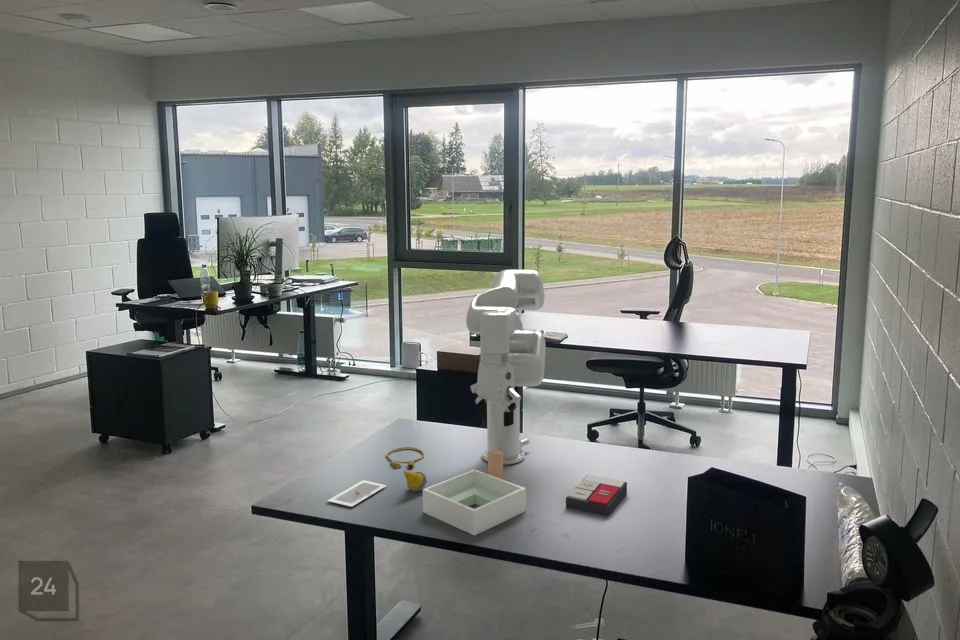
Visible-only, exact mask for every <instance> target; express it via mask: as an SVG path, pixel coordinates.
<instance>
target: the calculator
mask: <svg viewBox="0 0 960 640" xmlns="http://www.w3.org/2000/svg"><path fill="white" fill-rule="evenodd" d="M627 495H628V482H627V481H624V480H620V479H615V478H611V477H610V478H608V477H606V476H599V475H593V474H587V475H585V477H584V478H583V479H582V480H581V481H580V482H579V483H578V484H577V485H576V486H575V487H574V489H572V491H570V492H569V494H568V495H567V496H566V497H565V508H566V509H570V510H575V511H578V512H579V511H580V512H584V513H588V514H593V515H597V516H602V517H609V516H610V515H611V514H612V512H613V511H615V509H617V508H616V507H618V505H619V504H620V502H622V501H623V500H624V498H626V496H627Z"/></svg>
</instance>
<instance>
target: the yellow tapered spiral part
mask: <svg viewBox="0 0 960 640" xmlns="http://www.w3.org/2000/svg"><path fill="white" fill-rule="evenodd" d="M403 474H404V477H405V479H406V483H407V485H406V487H407V488H408V490H410V491H411V492H413V493H417V492H420V491H423V489H425V486H426V484H427V482H428V480H427V476H426V475H425V474H424V473H423V472H421V471H407V470H404V471H403Z"/></svg>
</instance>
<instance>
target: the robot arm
mask: <svg viewBox="0 0 960 640" xmlns="http://www.w3.org/2000/svg"><path fill="white" fill-rule="evenodd" d="M545 297H546V296H545V289H544V282H543V280H542V277H541V274H540V273H539V272H538V271H536V270H534V269H503V270H501V271H498V272H497V273H496V275H495V277H494V279H493V282H492V285H491V288H490V289H487V290H486V291H485V292H482V293H480V294H477V296H475V297H473V299H472V300H471V301H470V304H469V306H468V310H467V313H466V318H465V321H466V327H467V330H468V331H469V332H470V333H472V334H475V335H480V339H479V340H480V343H479V344H480V346H479V349H480V362H479V363H478V368H477V377H476V378H477V380H476V381H477V382H476V383H474V384H473V383H472V385H470V386H469V388H470V391H471V393H472V397H473V398H474V402H475V405H476V417H477V418H476V419H478V420H481V419H485V418H486V419H487V423H486V425H487V426H486V427H487V433H486V435H487V436H486V437H487V438H486V439H487V440H486V441H487V448H486V449H485V450H483V452H481V453H482V456H481V457H482V459H483V460H484V461H486V462H487V463H488V452H489V451H491V450H500V451H502V452H503V466H504V465H514V464H517V463H521V462H522V461H523V460H525V457H526V455H525V454H526V453H525V452H524V451H523V449H522V448H523V447H524V446H527V445H530V443H531V442H530V439H529V438H523V439H522V440H521V438H520V437H521V436H520V434H521V432H520V430H521V429H520V419H521V418H520V405H521V404H520V403H521V402H520V401H521V400H522V396H521V395H520V394H518V393H517V392H516V388H515V387H537V386H539V385H541V384H542V382H543V380H544V377H545V368H546V367H545V365H546V349H547V348H546V340H545V338H546V337H545V336H544V334H543V333H542V332H541V331H540V330H536V329H523V327H524V326H523V322H522V321H521V315H520V314H519V312H518V311H537V310H541V308H542V307H543V306H544V303H545Z"/></svg>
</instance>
